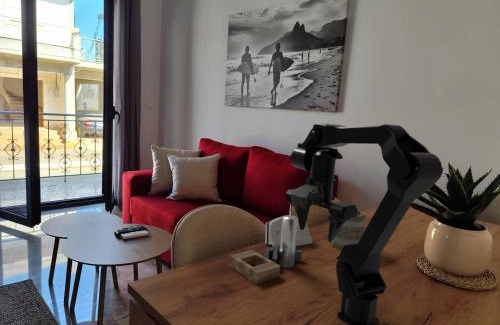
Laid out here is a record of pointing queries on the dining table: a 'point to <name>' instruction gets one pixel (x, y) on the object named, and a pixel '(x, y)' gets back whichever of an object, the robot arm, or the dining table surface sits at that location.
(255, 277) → the rectangular block with hole
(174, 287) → the dining table surface
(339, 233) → the mug
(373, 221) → the robot arm
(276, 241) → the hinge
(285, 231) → the axle
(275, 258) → the v block
